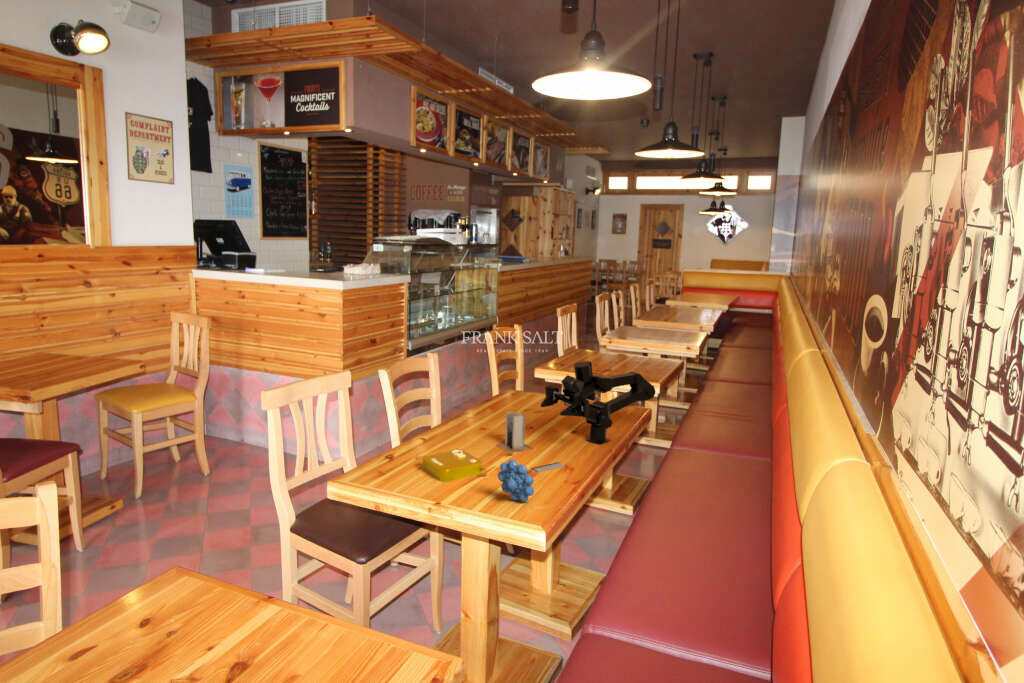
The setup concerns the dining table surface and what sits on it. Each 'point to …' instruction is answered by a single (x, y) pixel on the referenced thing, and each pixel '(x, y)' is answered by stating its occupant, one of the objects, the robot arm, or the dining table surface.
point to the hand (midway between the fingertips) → (550, 409)
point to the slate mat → (548, 467)
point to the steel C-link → (515, 430)
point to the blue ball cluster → (516, 480)
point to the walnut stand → (509, 448)
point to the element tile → (452, 465)
